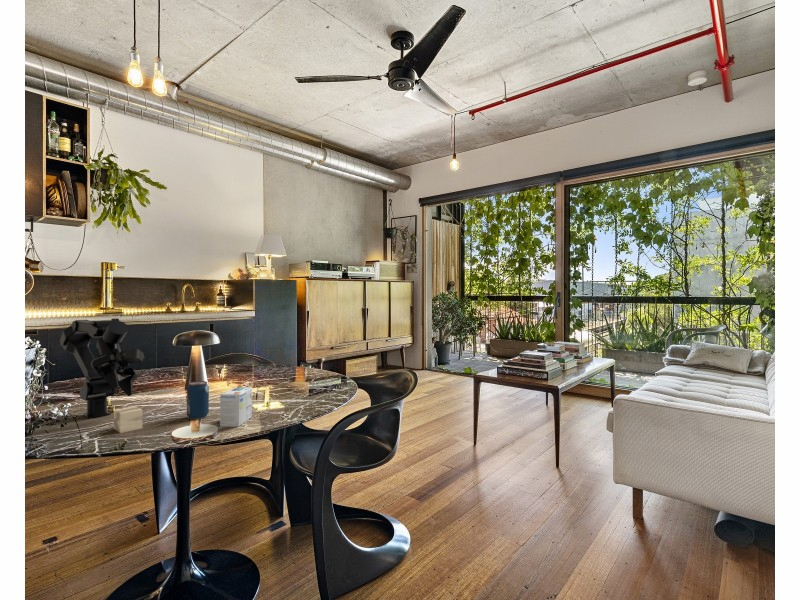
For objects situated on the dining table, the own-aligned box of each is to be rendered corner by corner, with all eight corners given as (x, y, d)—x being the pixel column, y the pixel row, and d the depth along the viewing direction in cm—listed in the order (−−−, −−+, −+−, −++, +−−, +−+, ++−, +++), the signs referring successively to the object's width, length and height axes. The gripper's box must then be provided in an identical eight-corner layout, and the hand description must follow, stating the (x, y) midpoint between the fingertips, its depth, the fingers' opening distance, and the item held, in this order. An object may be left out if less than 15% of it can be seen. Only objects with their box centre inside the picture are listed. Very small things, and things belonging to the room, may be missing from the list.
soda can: (212, 414, 145) (213, 381, 145) (200, 420, 138) (200, 385, 138) (195, 413, 146) (195, 380, 146) (181, 419, 139) (182, 384, 139)
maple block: (113, 428, 128) (114, 409, 128) (135, 424, 133) (135, 406, 133) (120, 433, 125) (120, 413, 125) (142, 428, 129) (142, 409, 129)
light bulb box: (233, 416, 143) (233, 386, 143) (252, 417, 143) (252, 386, 143) (219, 426, 132) (219, 393, 132) (239, 427, 132) (239, 394, 132)
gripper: (122, 330, 131) (136, 371, 125) (147, 350, 147) (161, 387, 142) (84, 345, 127) (97, 388, 122) (114, 365, 144) (126, 403, 138)
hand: (123, 391), depth 131 cm, fingers open, 9 cm apart
